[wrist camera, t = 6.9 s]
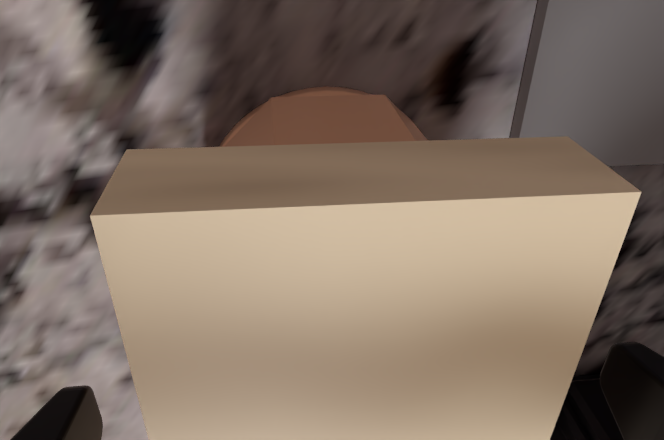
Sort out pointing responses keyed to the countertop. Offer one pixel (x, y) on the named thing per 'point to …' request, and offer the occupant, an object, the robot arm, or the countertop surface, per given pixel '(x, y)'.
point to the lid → (359, 285)
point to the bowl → (323, 120)
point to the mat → (596, 78)
